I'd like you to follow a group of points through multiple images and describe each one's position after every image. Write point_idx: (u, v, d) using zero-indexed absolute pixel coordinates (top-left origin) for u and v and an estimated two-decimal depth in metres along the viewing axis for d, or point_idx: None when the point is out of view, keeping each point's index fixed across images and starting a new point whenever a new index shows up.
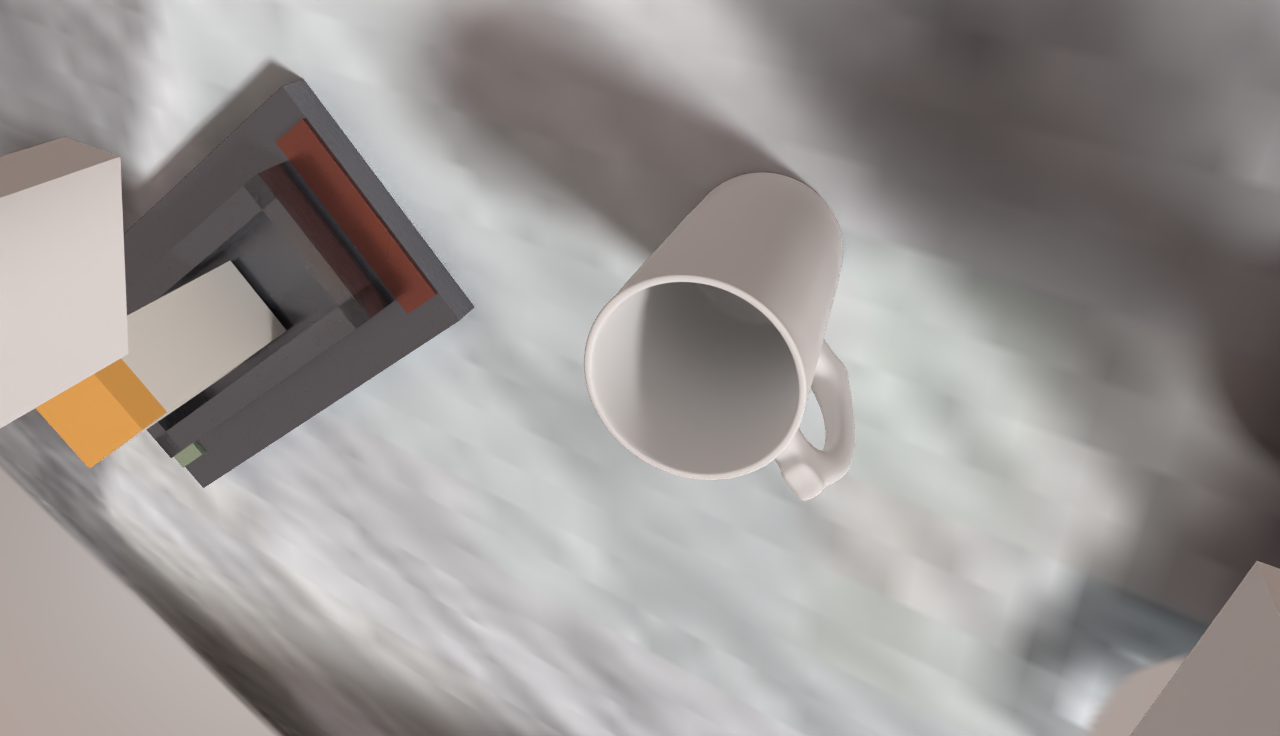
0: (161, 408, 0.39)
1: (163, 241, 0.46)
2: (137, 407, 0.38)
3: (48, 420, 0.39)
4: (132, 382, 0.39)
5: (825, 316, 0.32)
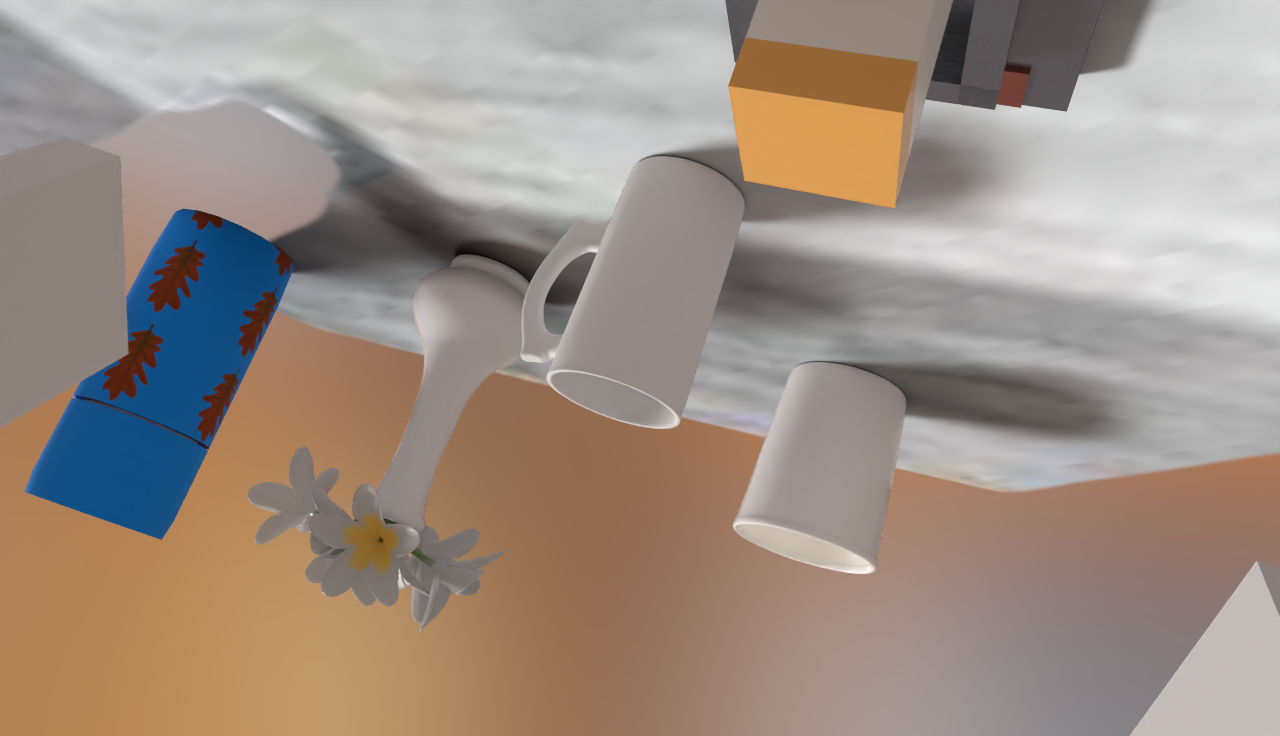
0: None
1: None
2: None
3: (832, 103, 0.22)
4: None
5: None
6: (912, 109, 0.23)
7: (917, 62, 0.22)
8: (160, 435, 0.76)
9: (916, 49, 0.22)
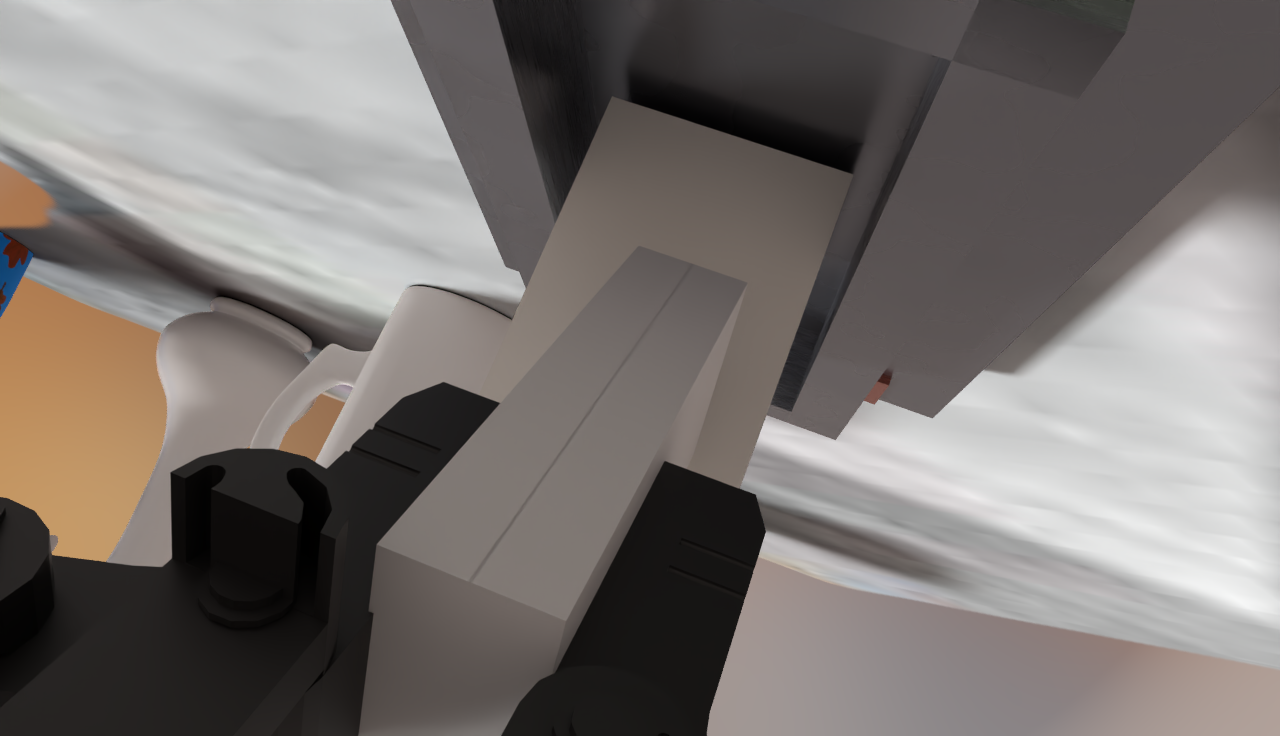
0: None
1: (1017, 220, 0.15)
2: None
3: None
4: None
5: None
6: None
7: None
8: None
9: None
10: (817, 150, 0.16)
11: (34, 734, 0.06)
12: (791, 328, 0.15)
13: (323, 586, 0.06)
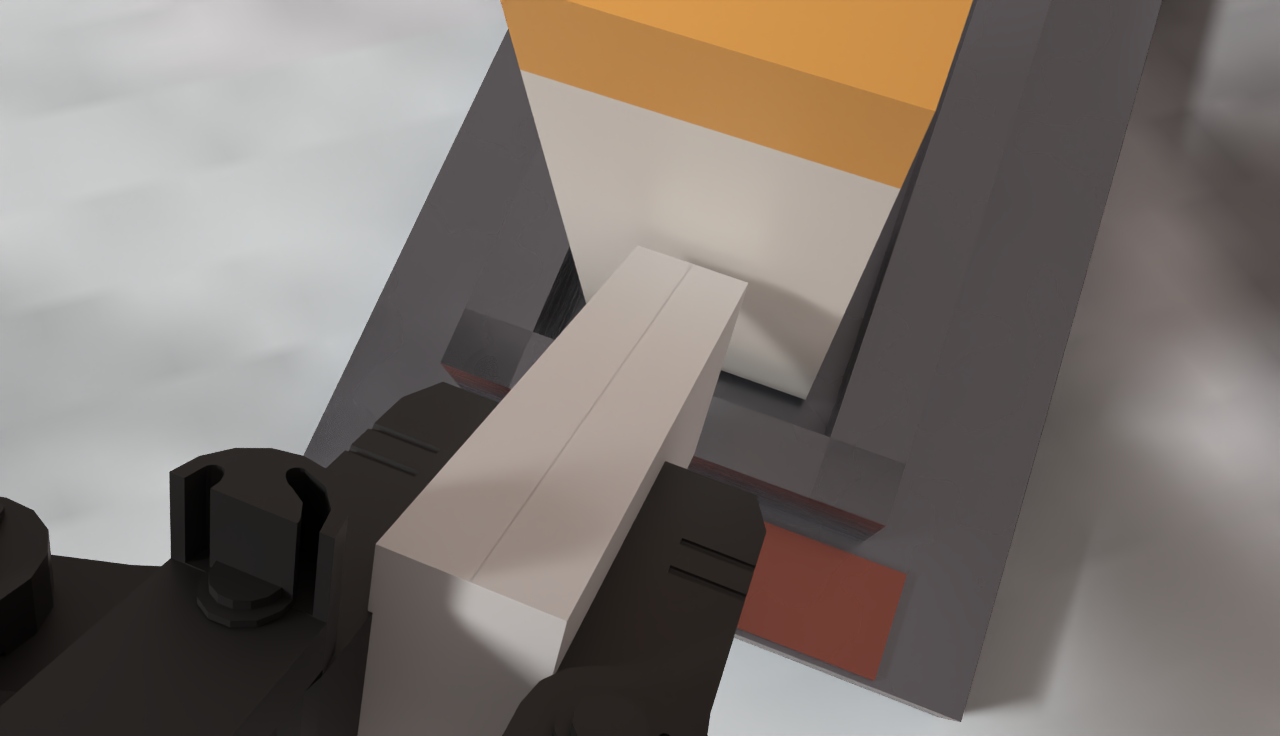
0: (546, 67, 0.10)
1: (1046, 129, 0.19)
2: (580, 36, 0.09)
3: None
4: (673, 99, 0.10)
5: None
6: None
7: None
8: None
9: None
10: None
11: (33, 734, 0.06)
12: None
13: (322, 586, 0.06)
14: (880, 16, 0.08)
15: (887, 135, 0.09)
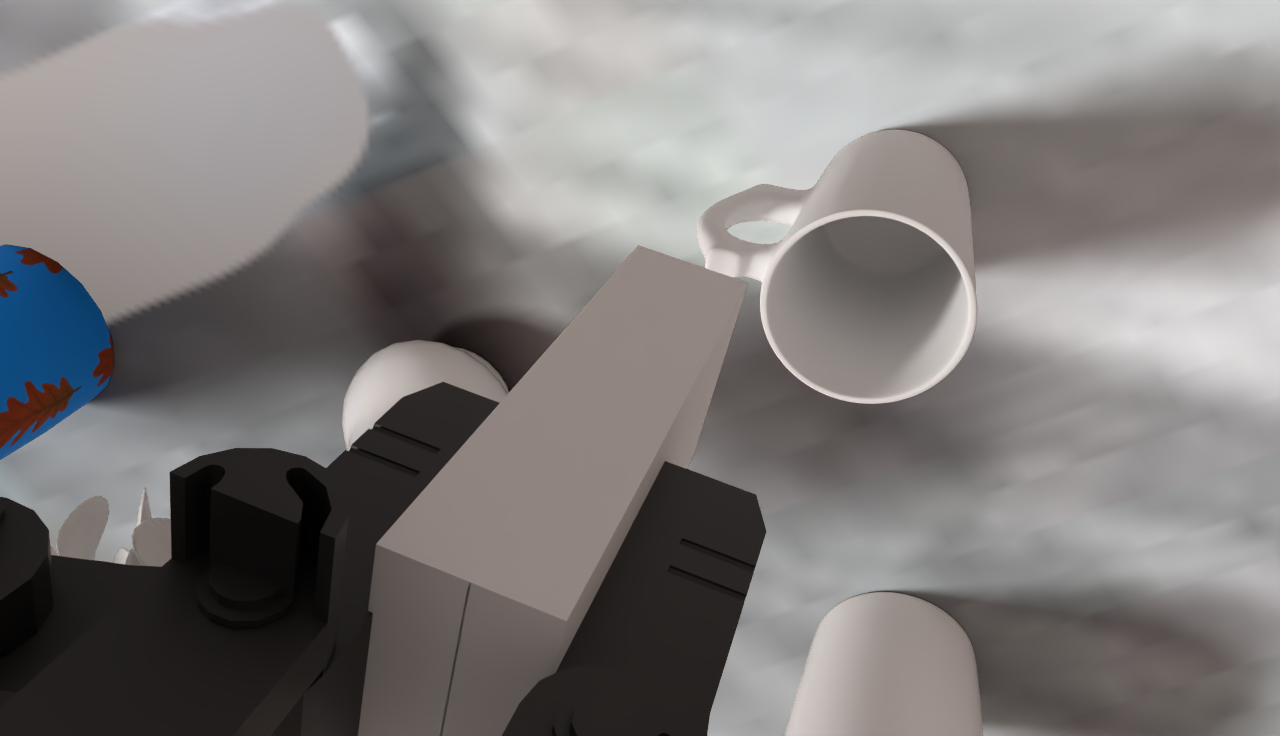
0: None
1: None
2: None
3: None
4: None
5: None
6: None
7: None
8: None
9: None
10: None
11: (33, 734, 0.06)
12: None
13: (322, 586, 0.06)
14: None
15: None
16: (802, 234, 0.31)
